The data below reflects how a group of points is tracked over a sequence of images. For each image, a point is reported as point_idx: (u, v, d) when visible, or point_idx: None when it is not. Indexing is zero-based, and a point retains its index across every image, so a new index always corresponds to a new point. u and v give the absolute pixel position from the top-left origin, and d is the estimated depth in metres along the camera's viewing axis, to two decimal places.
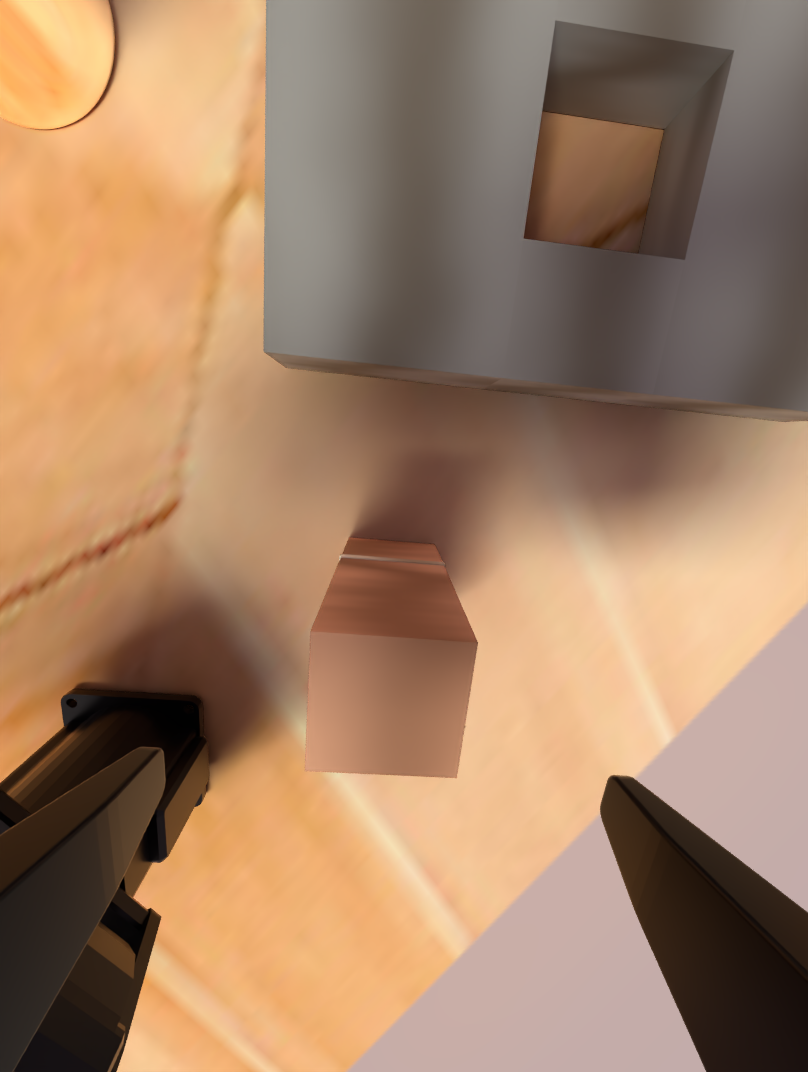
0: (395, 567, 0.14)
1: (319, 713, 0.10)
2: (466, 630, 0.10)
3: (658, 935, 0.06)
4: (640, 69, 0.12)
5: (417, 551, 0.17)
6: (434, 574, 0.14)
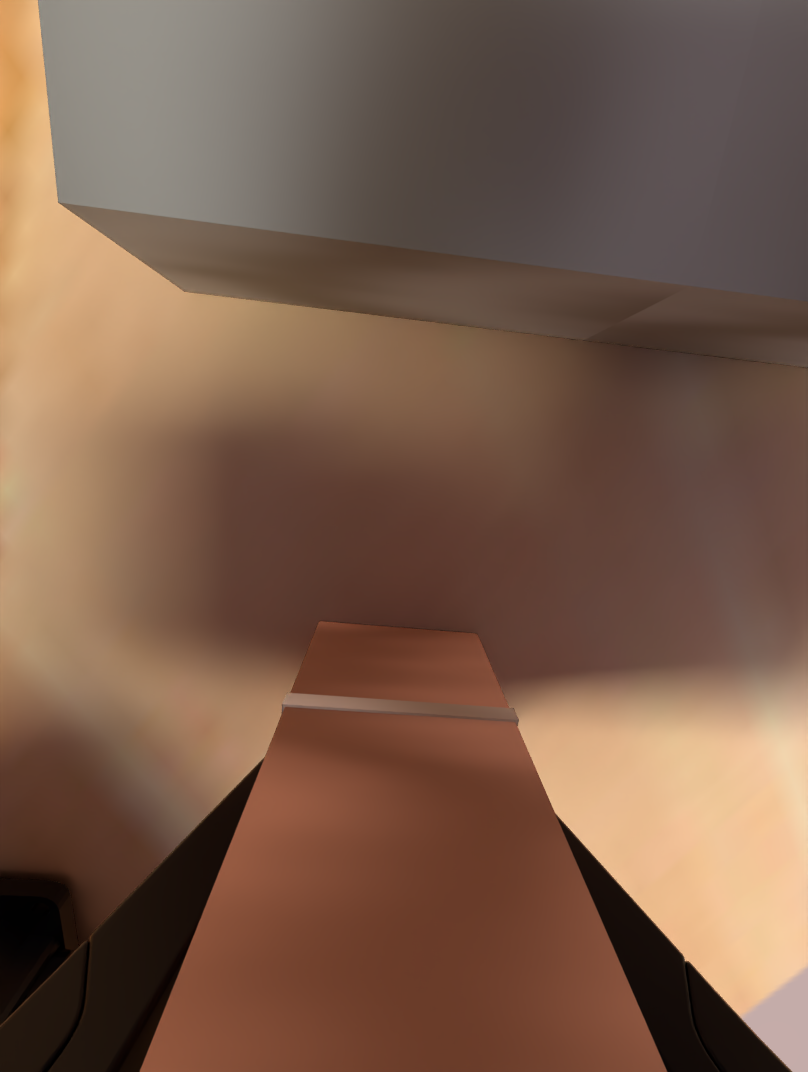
0: (409, 745, 0.06)
1: None
2: None
3: None
4: None
5: (450, 661, 0.08)
6: (505, 774, 0.06)
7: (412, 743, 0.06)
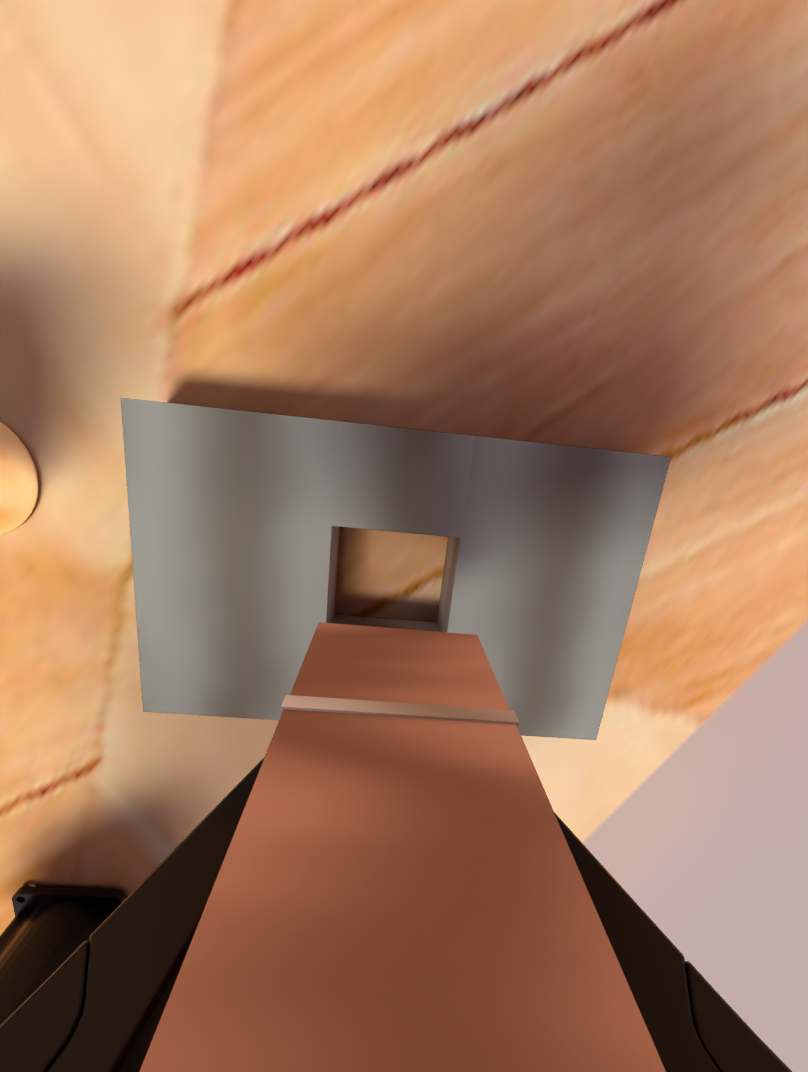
0: (408, 748, 0.06)
1: None
2: None
3: None
4: None
5: (449, 663, 0.08)
6: (505, 778, 0.06)
7: (412, 746, 0.06)
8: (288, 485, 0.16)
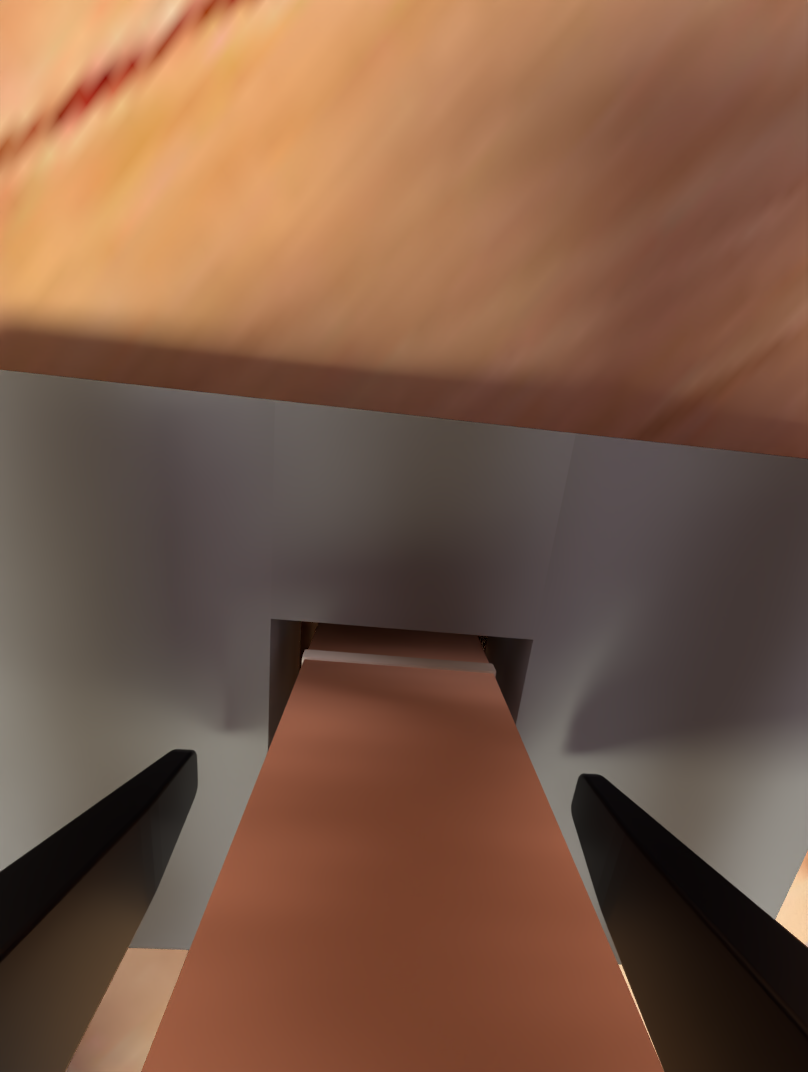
0: (405, 687, 0.07)
1: None
2: (640, 1061, 0.03)
3: (621, 934, 0.06)
4: None
5: None
6: (482, 708, 0.07)
7: (408, 686, 0.07)
8: (174, 539, 0.07)
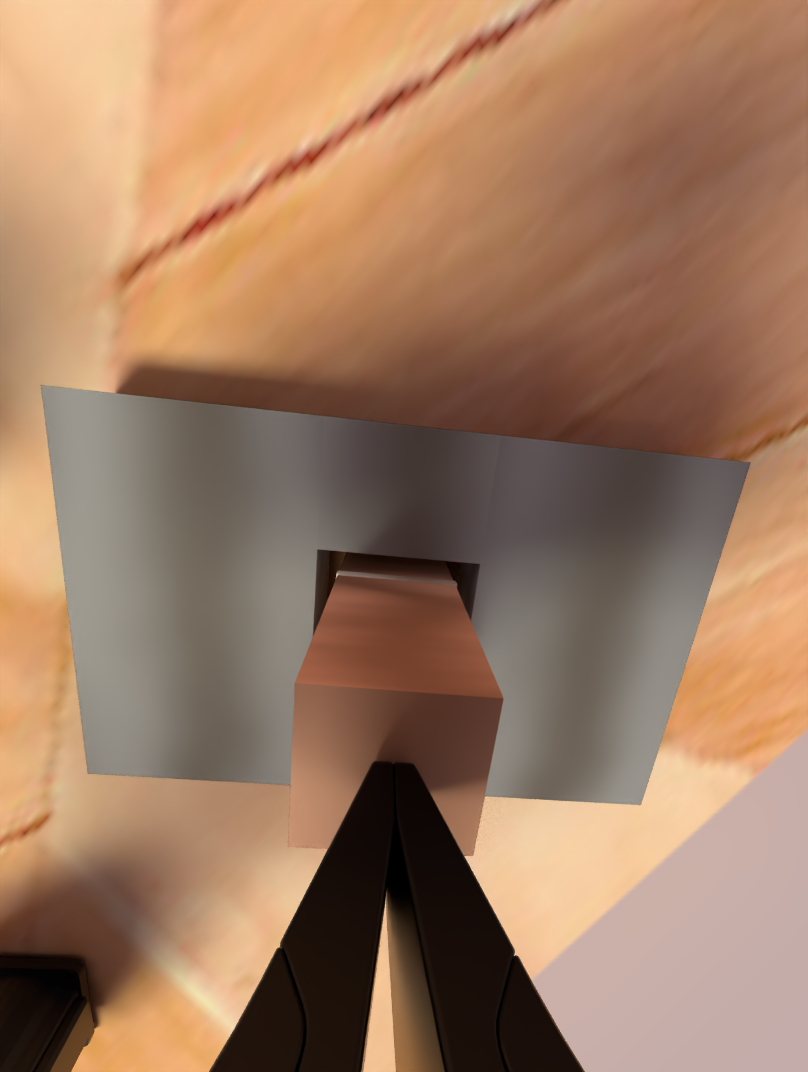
0: (400, 588, 0.12)
1: (305, 780, 0.08)
2: (488, 679, 0.08)
3: (390, 925, 0.06)
4: None
5: (424, 566, 0.15)
6: (445, 597, 0.12)
7: (401, 587, 0.12)
8: (261, 498, 0.12)
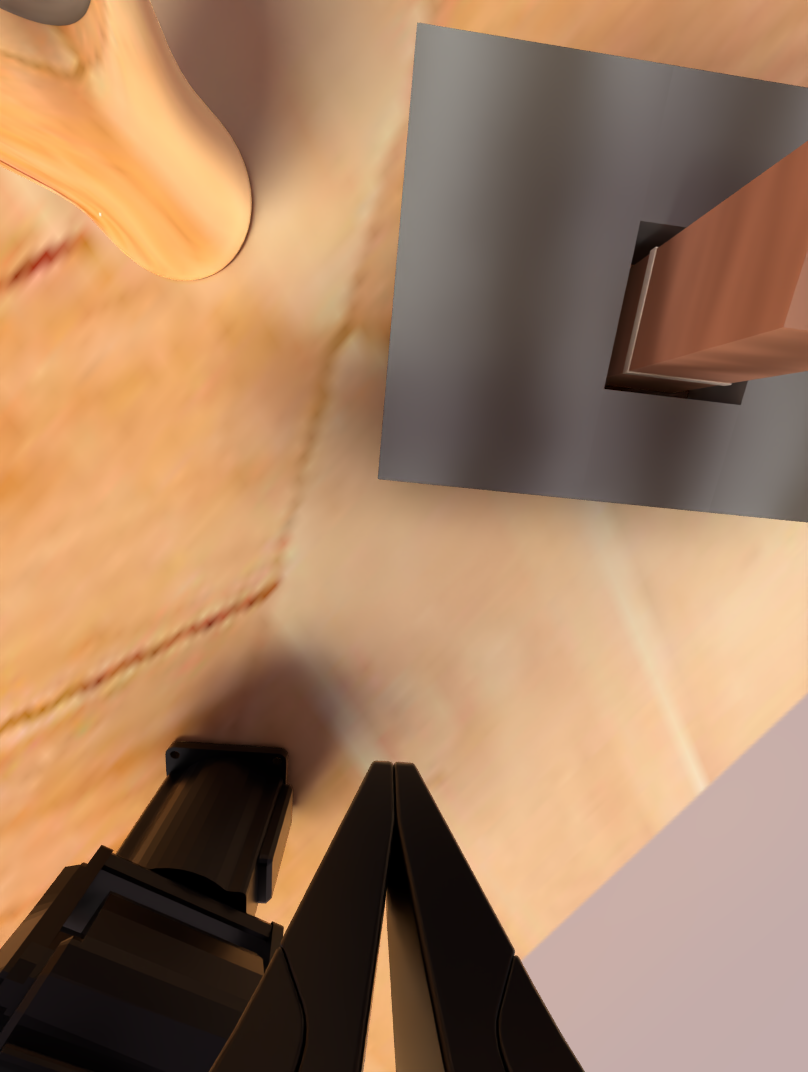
0: None
1: None
2: None
3: (390, 925, 0.06)
4: None
5: None
6: None
7: None
8: (599, 159, 0.13)
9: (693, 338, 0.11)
